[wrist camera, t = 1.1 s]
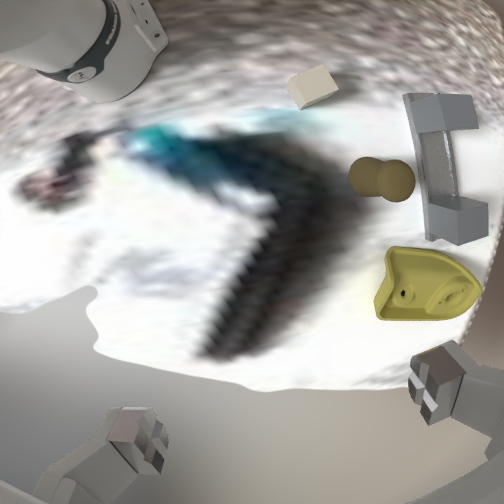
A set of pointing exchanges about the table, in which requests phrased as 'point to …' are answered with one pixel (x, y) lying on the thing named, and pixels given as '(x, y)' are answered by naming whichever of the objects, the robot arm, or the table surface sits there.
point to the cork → (382, 179)
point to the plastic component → (424, 287)
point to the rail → (432, 163)
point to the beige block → (311, 86)
